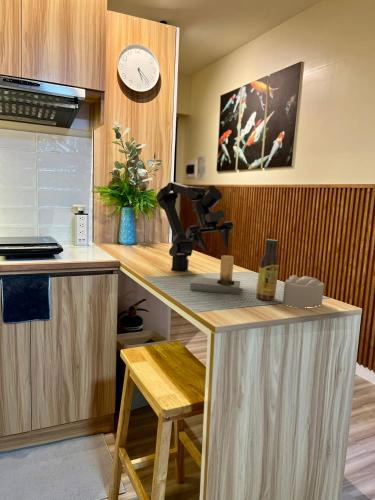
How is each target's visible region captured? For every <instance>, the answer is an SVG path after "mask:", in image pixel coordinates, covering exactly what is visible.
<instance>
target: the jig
mask: <svg viewBox="0 0 375 500" xmlns="http://www.w3.org/2000/svg"><path fill="white" fill-rule="evenodd" d="M189 285H190V286H189V290H190V291H197V292H198V291H200V292H210V293H221V294H229V295H239V294H240V289H241V288H240V287H241V281H240V280H233V279H232V285H226V284H220V278H213V277H201V276H194V277H193V279H192V280H191V282H190V284H189Z"/></svg>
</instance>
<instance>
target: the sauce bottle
mask: <svg viewBox="0 0 375 500" xmlns="http://www.w3.org/2000/svg"><path fill="white" fill-rule="evenodd" d="M264 243H265V249H264V254H262V256H261V258H260V261H259V267H258V268H259V269H258V275H257V283H256V296H255V297H256V298H257V299H259V300H263V301H272V300H275V295H276V291H277V284H278V283H277V282H278V275H279V268H280V265H279V261H278V255H277V250H278V244H279V240H278V239H271V238H266V239H265V242H264Z"/></svg>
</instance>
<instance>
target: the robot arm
mask: <svg viewBox="0 0 375 500" xmlns="http://www.w3.org/2000/svg"><path fill="white" fill-rule="evenodd" d="M179 195H182V196H185V198H186V199H187V200H189V201H190V202H195V203H193V205H192V207H191V211H193V212H194V211H195V213H196V216H197V223H198V224H199V225H200V226H199V225H198V224H196V225H194V224H193V225H190V226H188V228H187V230H186V232H185V231H184V229H183V228H184V227H183V225H182V222H181V220H180V219H181V218H180V217H179V214H178V211H177V208H176V203H177V199H178V198H179ZM222 198H223V194H222V192H221V191H220V190H219V189H218V188H216V187H215V185H209V186H208V188H205V187H202V186H189V185H185V184H182V183H180V182H176V181H170V182H168V183H167V184H166V186H165V185H164V186H163V187H162V188H160V189H159V191H158V192H157V194H156V202H157V204H158V206H159V207H160V208H161V209H162V210H164V212H165V216H166V218H167V221H168V224H169V227H170V230H171V233H172V235H173V239H172V242H171V247H170V248H169V250H168V254H169V256H171V257H172V260H171V261H172V262H171V267H170V268H171V269H170V270H171V271H180V272H186V271H187V270H188V269H189V266H190V265H189V264H190V263H189V261H190V259H189V258H188V257H191V256H192V255H193V254H192V253H193V250H194V243H195V244H196V245H198V246H199V247H200V248H201V249H202V251H204V252H206V251H207V246H206V244H205V241H204V239H203V235H202V234H205V233H212V232H219V234H220V235H219V237H220V238H221V240H222V243H223V245H224V247H225V249H228V248H229V235H230V233H231V231H232V230H233V229H234V228H235V225H234V223H233V221H230V220H229V221H228V220H227V221H223V222H222V223H221V224H220V225H218V224H219V222H220V221H222V219H224V218H226V215H225V211H224V210H223V209H218V210H217V211H216V212H215V211H213V212H212V210H211V209H212V208H214V207H215V206H216V205H217V204H218V203H219V202H220V201H221V199H222ZM193 242H194V243H193Z"/></svg>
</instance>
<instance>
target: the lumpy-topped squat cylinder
mask: <svg viewBox="0 0 375 500" xmlns="http://www.w3.org/2000/svg"><path fill="white" fill-rule="evenodd" d="M283 285H284V286H283V294H282V295H283V296H282V304H283V303H284V304H285V305H284V304H283V305H284V306H286V305H288V306H292V307H291V308H293V307H300V308H299V309H303V308H305V307H306V308H307V307H315V306H319V305H322V304H323V297H324V288H325V283H323V282H321V281H320V280H319V279H318V278H315V277H310V276H308V275H307V276H306V275H304V276H301V277H298V276H297V275H296V274H293V275H290V276H289V278H287V279H286V280H285V281H284V284H283ZM288 306H287V307H288Z"/></svg>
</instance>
